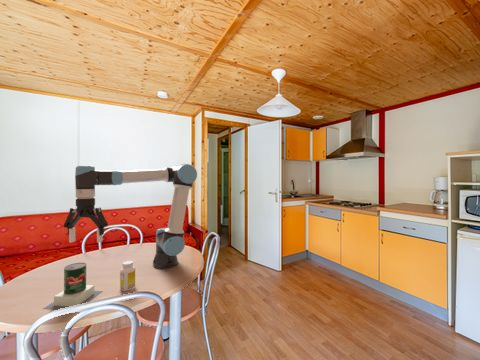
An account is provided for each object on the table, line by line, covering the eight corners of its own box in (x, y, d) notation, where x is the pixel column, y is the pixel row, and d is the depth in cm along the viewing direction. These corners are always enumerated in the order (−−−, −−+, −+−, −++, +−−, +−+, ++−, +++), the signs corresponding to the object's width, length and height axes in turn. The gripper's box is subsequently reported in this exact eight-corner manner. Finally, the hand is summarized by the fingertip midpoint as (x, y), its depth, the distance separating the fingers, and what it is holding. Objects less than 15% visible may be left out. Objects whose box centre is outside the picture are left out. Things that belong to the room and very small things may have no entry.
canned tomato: (79, 284, 98) (79, 261, 98) (90, 287, 95) (90, 264, 95) (59, 293, 91) (59, 267, 91) (70, 296, 88) (71, 270, 88)
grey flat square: (103, 292, 100) (103, 291, 100) (76, 311, 85) (76, 310, 85) (73, 290, 101) (73, 289, 101) (42, 309, 86) (42, 308, 86)
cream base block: (94, 293, 98) (94, 285, 98) (76, 306, 88) (76, 297, 88) (74, 292, 98) (74, 284, 98) (53, 305, 88) (54, 296, 88)
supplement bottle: (137, 284, 108) (137, 259, 108) (132, 291, 101) (132, 264, 101) (123, 285, 107) (123, 260, 107) (117, 292, 100) (118, 265, 100)
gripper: (53, 198, 97) (53, 244, 97) (105, 198, 96) (106, 244, 96) (67, 197, 104) (67, 239, 105) (115, 197, 104) (116, 239, 104)
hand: (86, 241), depth 100 cm, fingers open, 13 cm apart
